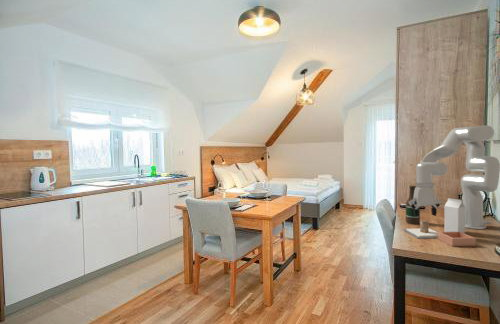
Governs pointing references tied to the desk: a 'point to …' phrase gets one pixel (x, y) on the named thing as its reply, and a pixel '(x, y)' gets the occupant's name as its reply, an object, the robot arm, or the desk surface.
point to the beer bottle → (411, 209)
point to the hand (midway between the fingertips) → (425, 215)
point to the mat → (417, 236)
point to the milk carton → (454, 216)
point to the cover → (424, 230)
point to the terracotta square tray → (456, 239)
